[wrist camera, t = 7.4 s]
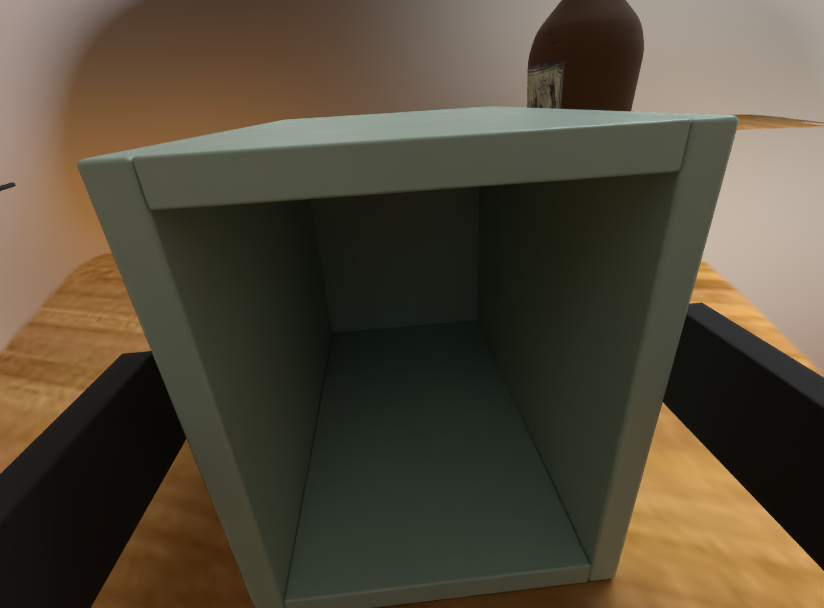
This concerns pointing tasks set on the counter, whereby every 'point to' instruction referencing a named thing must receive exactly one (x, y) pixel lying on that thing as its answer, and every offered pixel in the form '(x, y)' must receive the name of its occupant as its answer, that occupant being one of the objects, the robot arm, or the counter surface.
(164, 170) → the open box
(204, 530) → the counter surface
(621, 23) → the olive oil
